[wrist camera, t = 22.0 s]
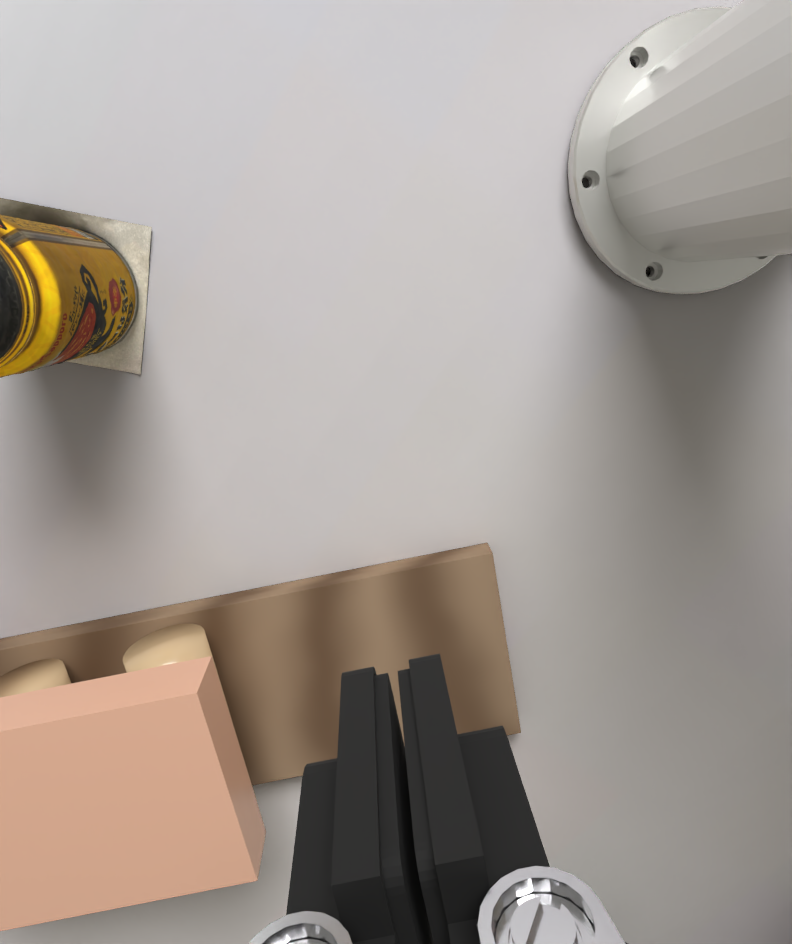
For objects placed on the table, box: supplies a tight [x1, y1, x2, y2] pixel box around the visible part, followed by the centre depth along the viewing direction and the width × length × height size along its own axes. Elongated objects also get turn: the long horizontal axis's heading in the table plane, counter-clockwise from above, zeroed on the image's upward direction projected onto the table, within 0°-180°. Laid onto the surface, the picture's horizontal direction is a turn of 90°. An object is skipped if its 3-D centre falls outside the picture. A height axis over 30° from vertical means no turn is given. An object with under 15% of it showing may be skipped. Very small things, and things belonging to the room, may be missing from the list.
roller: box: [0, 659, 72, 698], centre depth 35 cm, size 4×10×4 cm, turn 10°
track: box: [0, 543, 521, 785], centre depth 35 cm, size 33×12×8 cm, turn 101°
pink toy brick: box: [0, 623, 266, 931], centre depth 34 cm, size 16×11×7 cm
